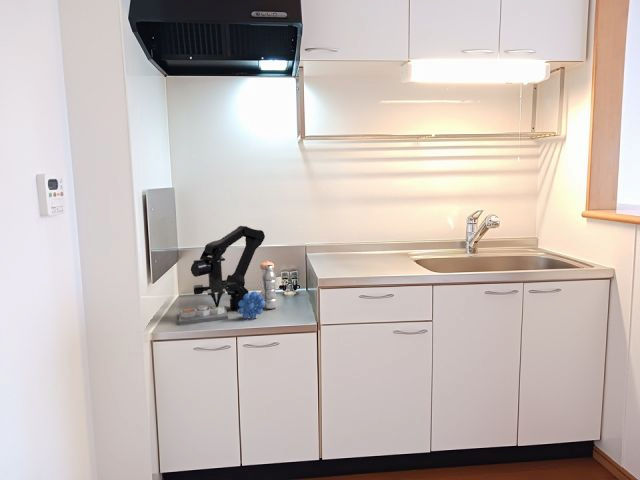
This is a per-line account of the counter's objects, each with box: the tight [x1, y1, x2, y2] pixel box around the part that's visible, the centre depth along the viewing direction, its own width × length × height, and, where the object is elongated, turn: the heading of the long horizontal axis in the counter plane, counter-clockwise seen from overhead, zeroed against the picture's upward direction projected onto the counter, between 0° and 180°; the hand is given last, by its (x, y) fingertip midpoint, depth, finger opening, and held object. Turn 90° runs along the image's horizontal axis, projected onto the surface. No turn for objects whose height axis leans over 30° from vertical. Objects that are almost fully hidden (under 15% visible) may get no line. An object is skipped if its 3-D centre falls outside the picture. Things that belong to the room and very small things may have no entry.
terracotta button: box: [183, 307, 194, 313], centre depth 187 cm, size 4×4×2 cm
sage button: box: [211, 304, 223, 310], centre depth 190 cm, size 4×4×2 cm
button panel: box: [178, 305, 229, 326], centre depth 189 cm, size 20×14×4 cm
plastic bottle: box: [261, 265, 278, 310], centre depth 198 cm, size 6×7×20 cm
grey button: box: [197, 304, 209, 311], centre depth 188 cm, size 4×4×2 cm
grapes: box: [237, 290, 265, 320], centre depth 185 cm, size 12×7×12 cm, turn 99°
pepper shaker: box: [259, 260, 275, 300], centre depth 214 cm, size 7×7×19 cm
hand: (217, 306), depth 190 cm, fingers closed, pressing on sage button
